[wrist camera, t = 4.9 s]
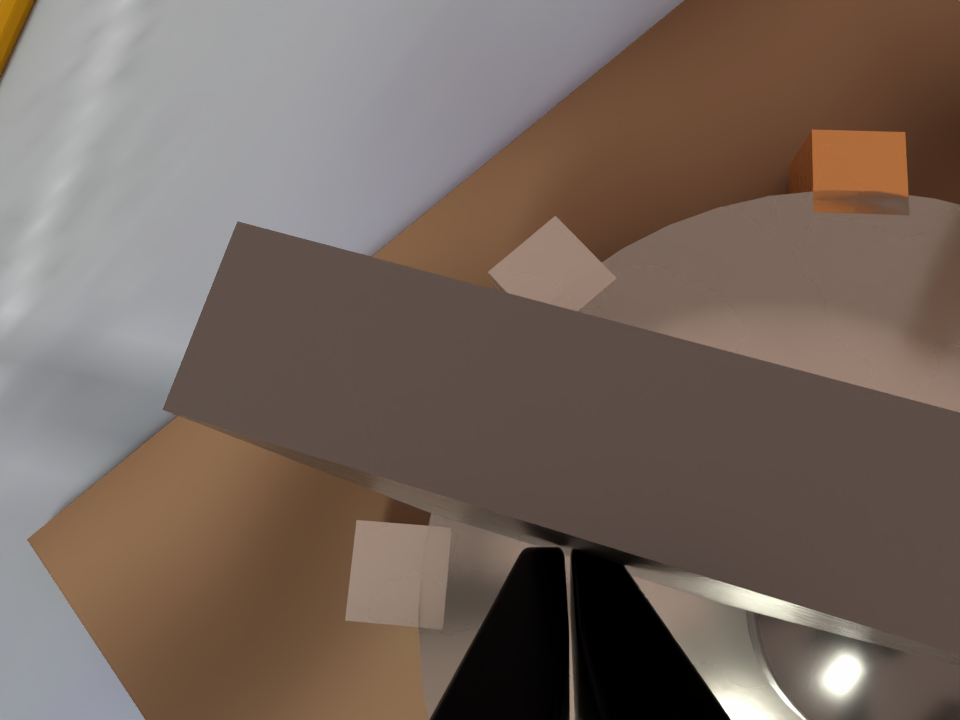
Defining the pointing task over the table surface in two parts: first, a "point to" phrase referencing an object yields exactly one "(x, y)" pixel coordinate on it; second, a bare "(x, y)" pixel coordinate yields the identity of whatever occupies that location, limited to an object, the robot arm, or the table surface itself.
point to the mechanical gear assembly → (11, 25)
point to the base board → (469, 257)
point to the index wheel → (644, 427)
